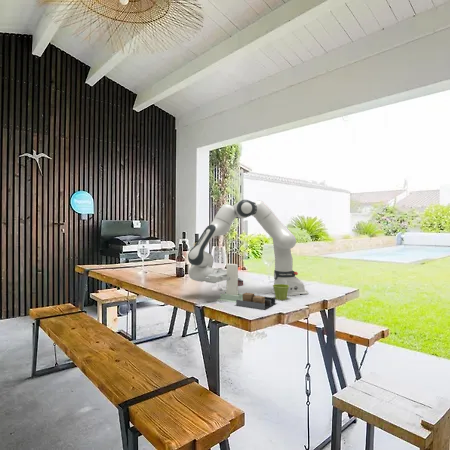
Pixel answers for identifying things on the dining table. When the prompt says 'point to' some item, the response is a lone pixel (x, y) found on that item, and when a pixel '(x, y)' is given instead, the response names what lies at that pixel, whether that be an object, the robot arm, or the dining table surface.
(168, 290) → the dining table surface
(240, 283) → the canned food
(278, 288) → the plant pot
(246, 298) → the offcut
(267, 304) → the rack
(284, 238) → the robot arm
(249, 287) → the dining table surface
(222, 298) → the holder
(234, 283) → the panel
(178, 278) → the dining table surface
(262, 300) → the offcut
